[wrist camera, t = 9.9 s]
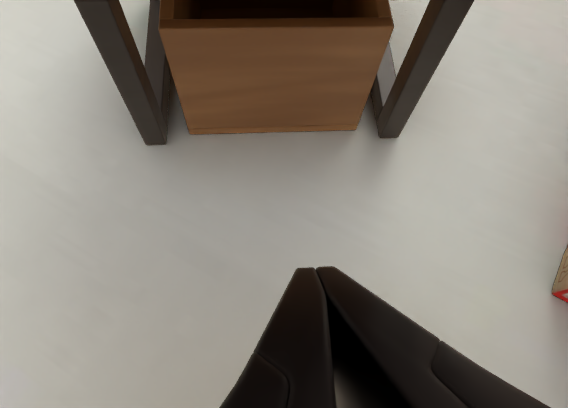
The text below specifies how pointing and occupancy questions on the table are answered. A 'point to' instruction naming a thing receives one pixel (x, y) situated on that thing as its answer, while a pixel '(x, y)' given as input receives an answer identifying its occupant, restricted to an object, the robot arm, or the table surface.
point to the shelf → (156, 75)
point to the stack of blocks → (562, 280)
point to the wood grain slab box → (273, 62)
